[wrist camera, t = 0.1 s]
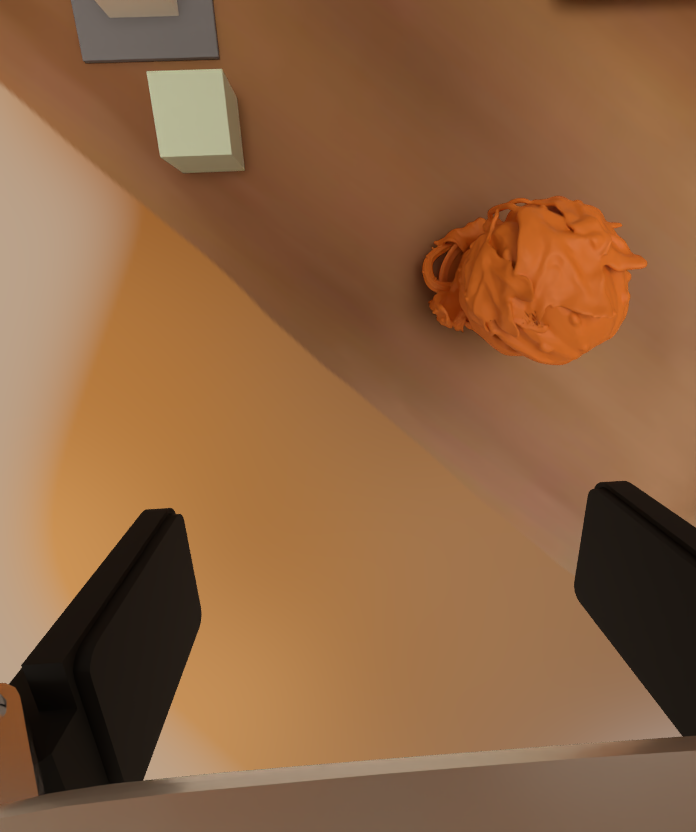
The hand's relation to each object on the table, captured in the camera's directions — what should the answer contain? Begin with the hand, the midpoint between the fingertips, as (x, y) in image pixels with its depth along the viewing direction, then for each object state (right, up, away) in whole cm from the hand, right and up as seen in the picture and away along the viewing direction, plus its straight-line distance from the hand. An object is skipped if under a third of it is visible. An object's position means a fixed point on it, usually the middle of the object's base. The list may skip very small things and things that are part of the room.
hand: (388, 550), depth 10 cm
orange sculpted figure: (+10, +15, +28) cm, 34 cm away
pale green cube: (-12, +25, +24) cm, 37 cm away
